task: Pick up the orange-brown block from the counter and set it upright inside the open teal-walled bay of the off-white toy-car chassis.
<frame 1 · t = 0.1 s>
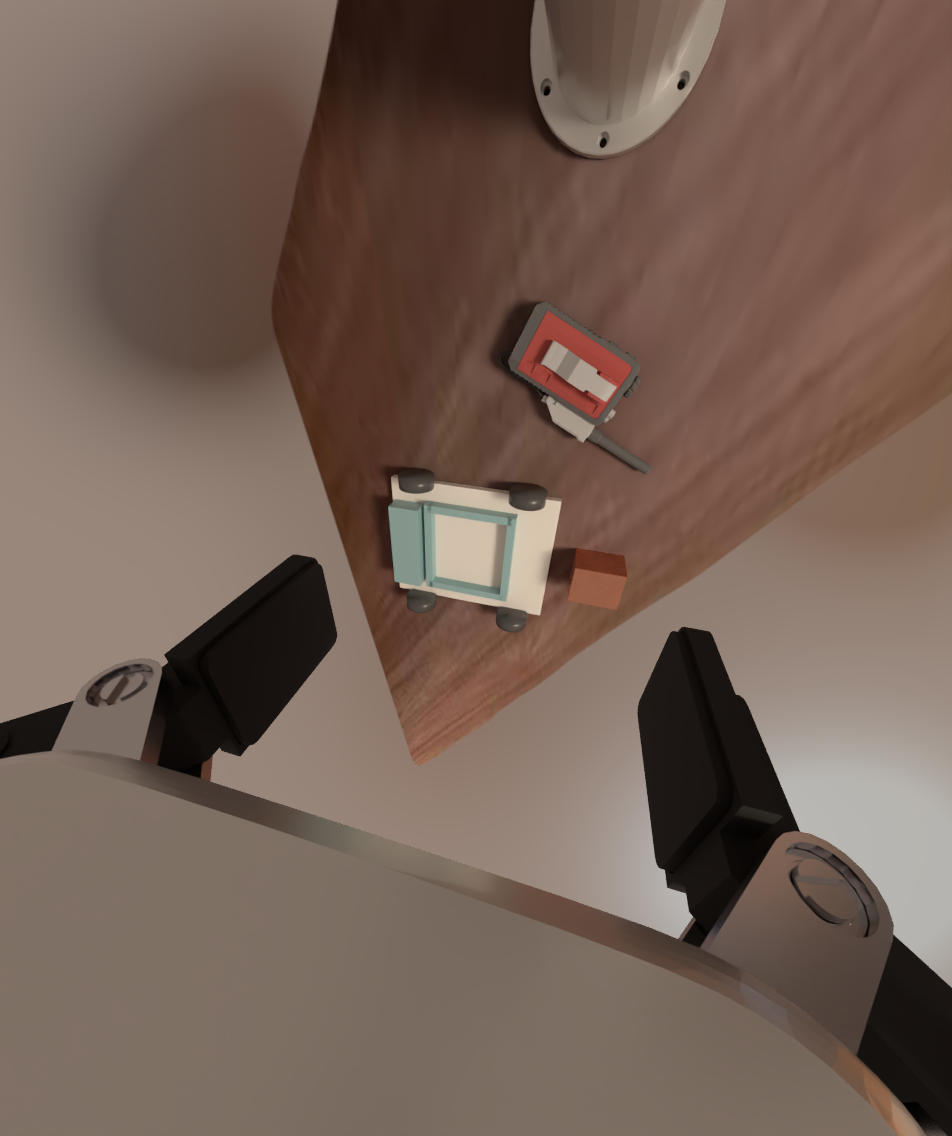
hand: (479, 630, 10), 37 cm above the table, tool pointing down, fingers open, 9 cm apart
chassis: (471, 546, 53), on the table
orange-brown block: (595, 567, 50), on the table
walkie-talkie: (592, 390, 39), on the table
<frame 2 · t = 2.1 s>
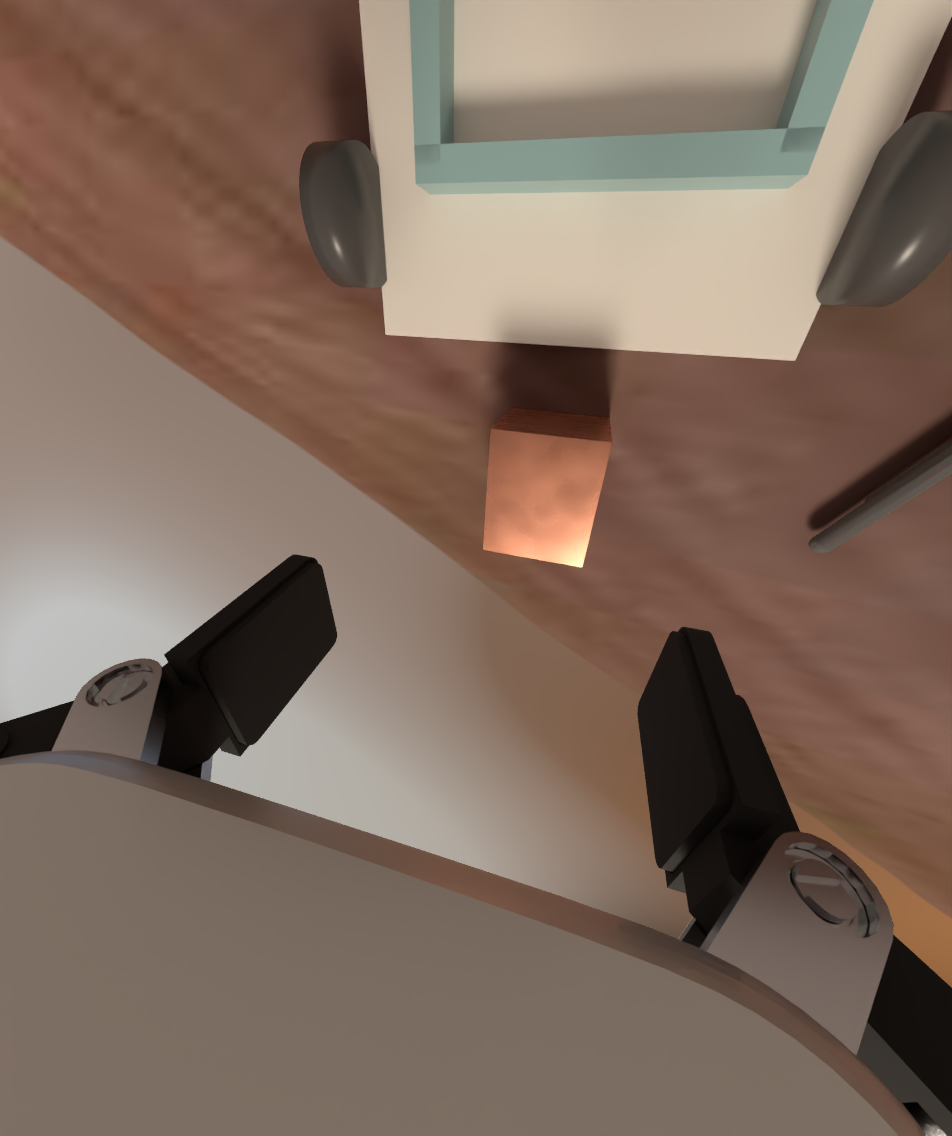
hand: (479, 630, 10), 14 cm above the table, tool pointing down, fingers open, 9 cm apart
orange-brown block: (550, 468, 21), on the table
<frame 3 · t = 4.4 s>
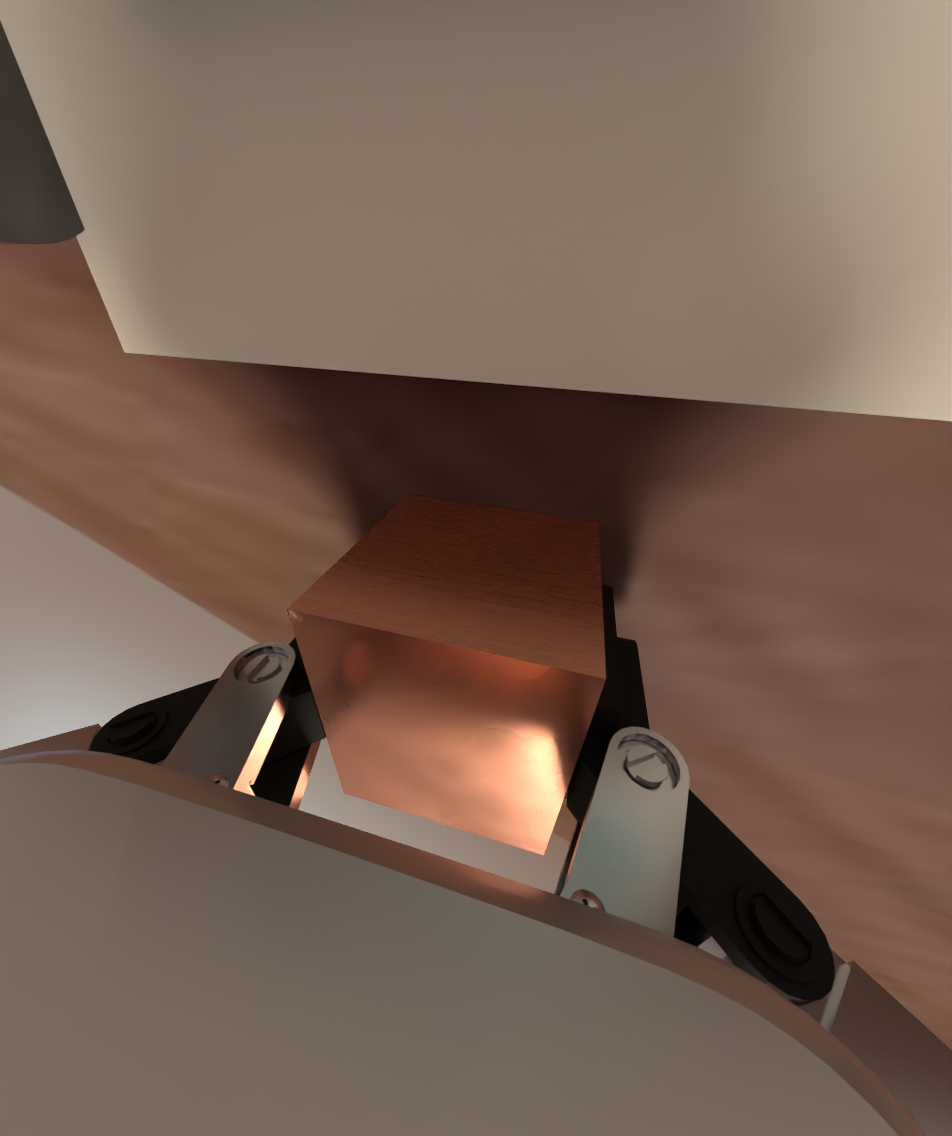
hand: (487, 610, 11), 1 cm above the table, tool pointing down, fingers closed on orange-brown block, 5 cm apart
orange-brown block: (491, 598, 11), on the table, touching gripper
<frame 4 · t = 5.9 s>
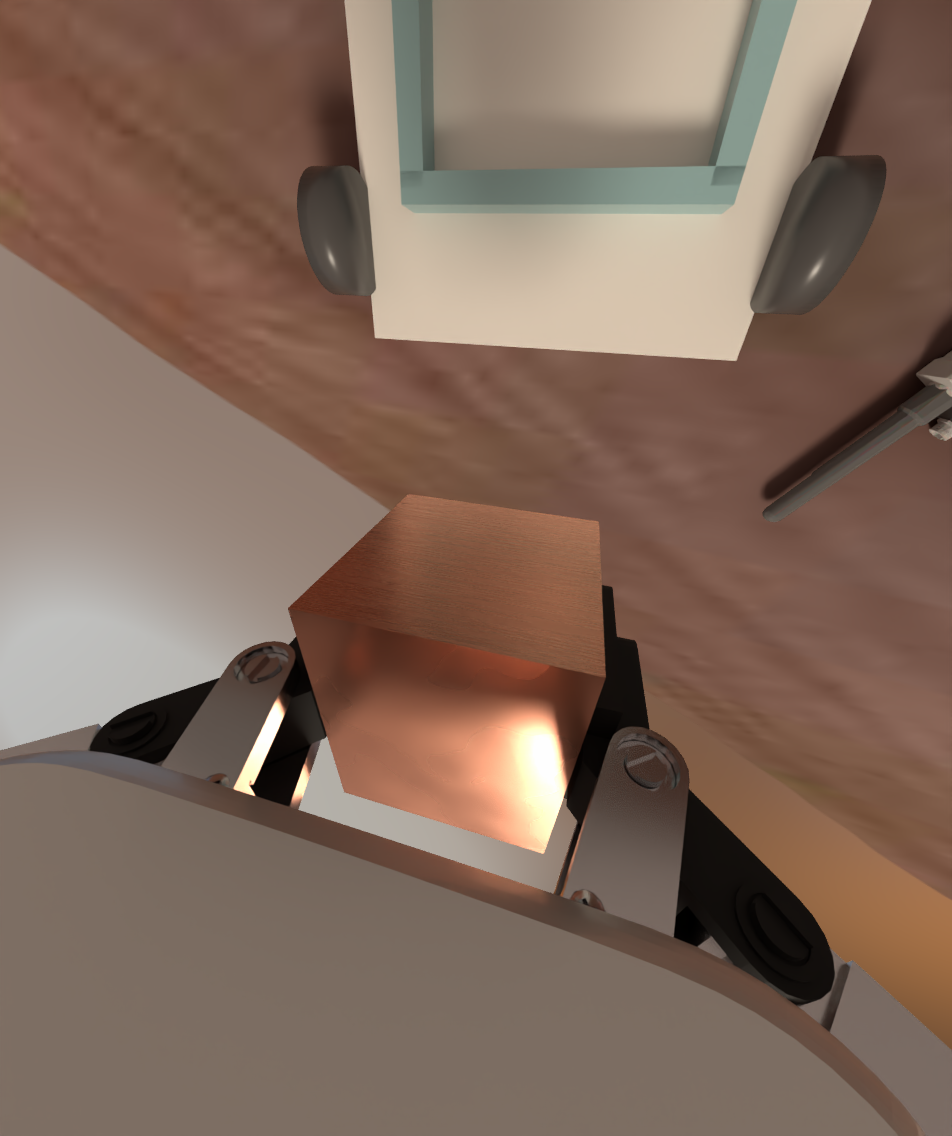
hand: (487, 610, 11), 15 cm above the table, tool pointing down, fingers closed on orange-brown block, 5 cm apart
orange-brown block: (491, 598, 11), point 14 cm above the table, touching gripper
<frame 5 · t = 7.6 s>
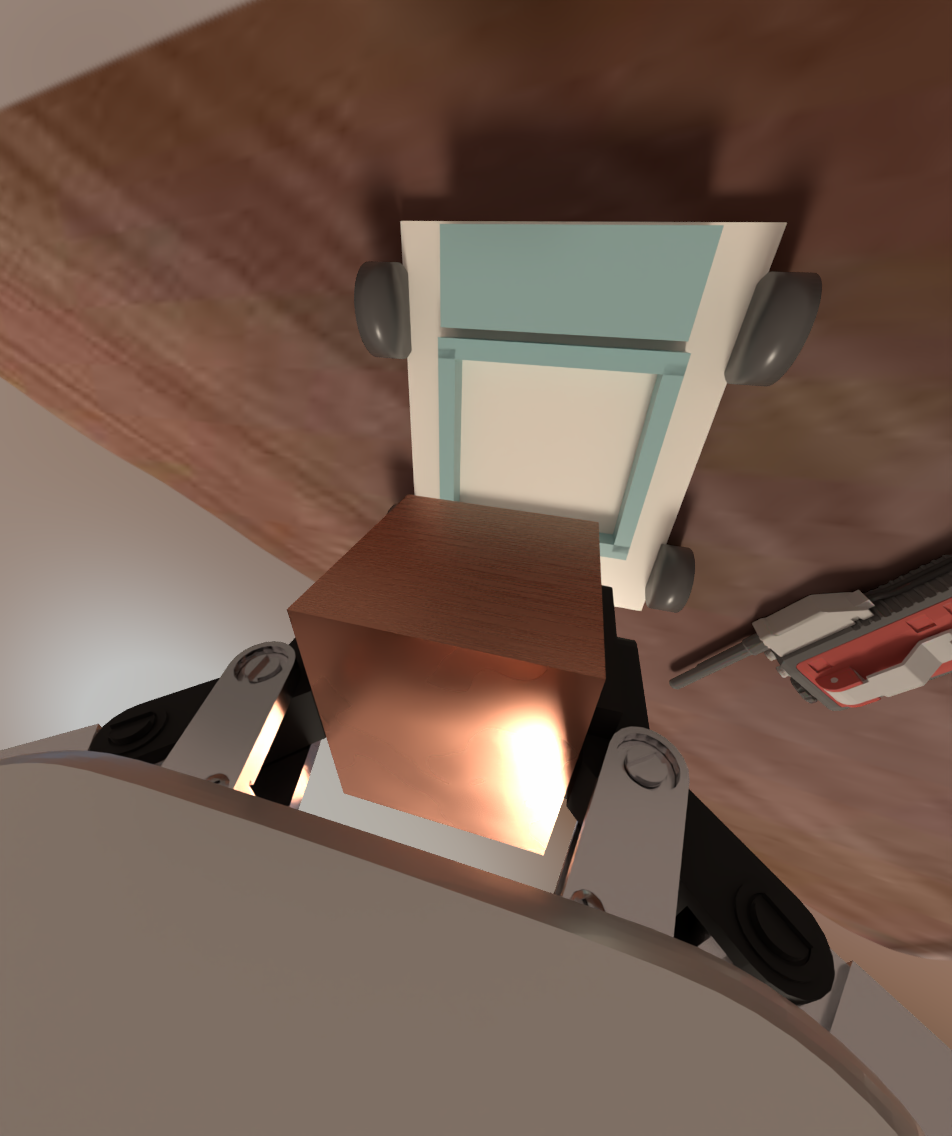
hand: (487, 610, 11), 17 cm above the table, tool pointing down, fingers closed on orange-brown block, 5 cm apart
chassis: (544, 448, 25), on the table
orange-brown block: (491, 598, 11), point 17 cm above the table, touching gripper
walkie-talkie: (814, 637, 28), on the table
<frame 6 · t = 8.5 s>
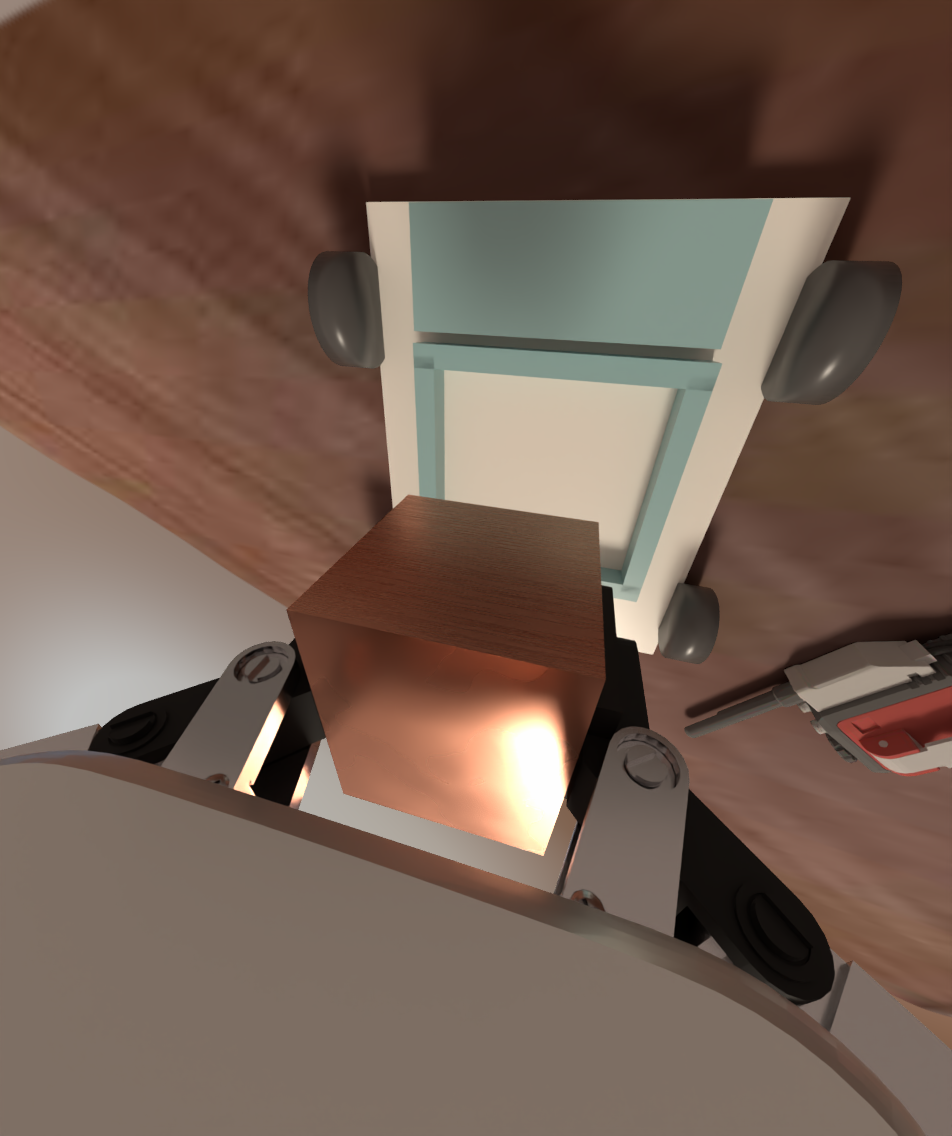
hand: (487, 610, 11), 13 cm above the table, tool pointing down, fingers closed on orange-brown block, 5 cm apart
chassis: (542, 471, 21), on the table
orange-brown block: (491, 598, 11), point 12 cm above the table, touching gripper
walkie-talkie: (855, 686, 24), on the table
when the fingers open (4 cm above the table, at t = 10.8 s): orange-brown block drops 2 cm, resting on chassis.
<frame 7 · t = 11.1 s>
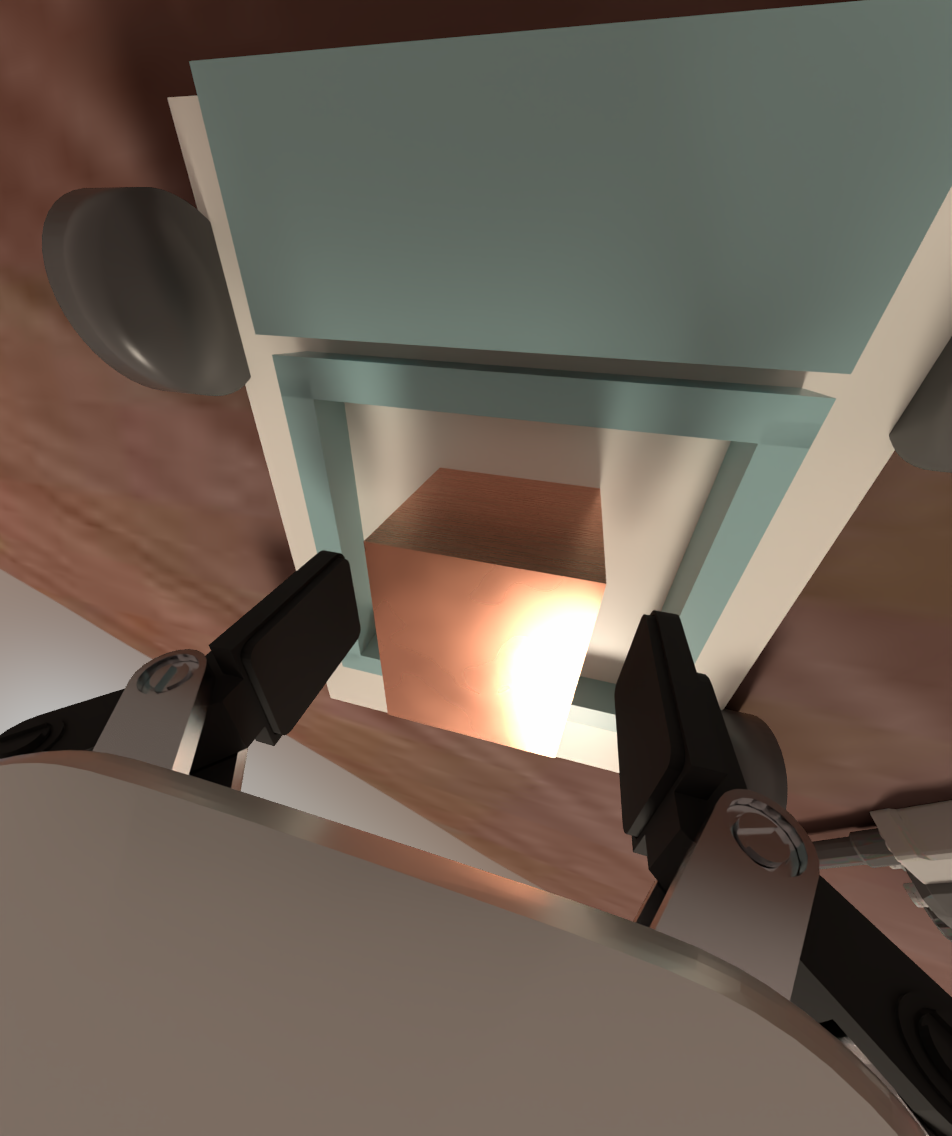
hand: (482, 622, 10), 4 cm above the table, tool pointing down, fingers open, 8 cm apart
chassis: (510, 545, 14), on the table
orange-brown block: (507, 559, 13), point 1 cm above the table, touching chassis
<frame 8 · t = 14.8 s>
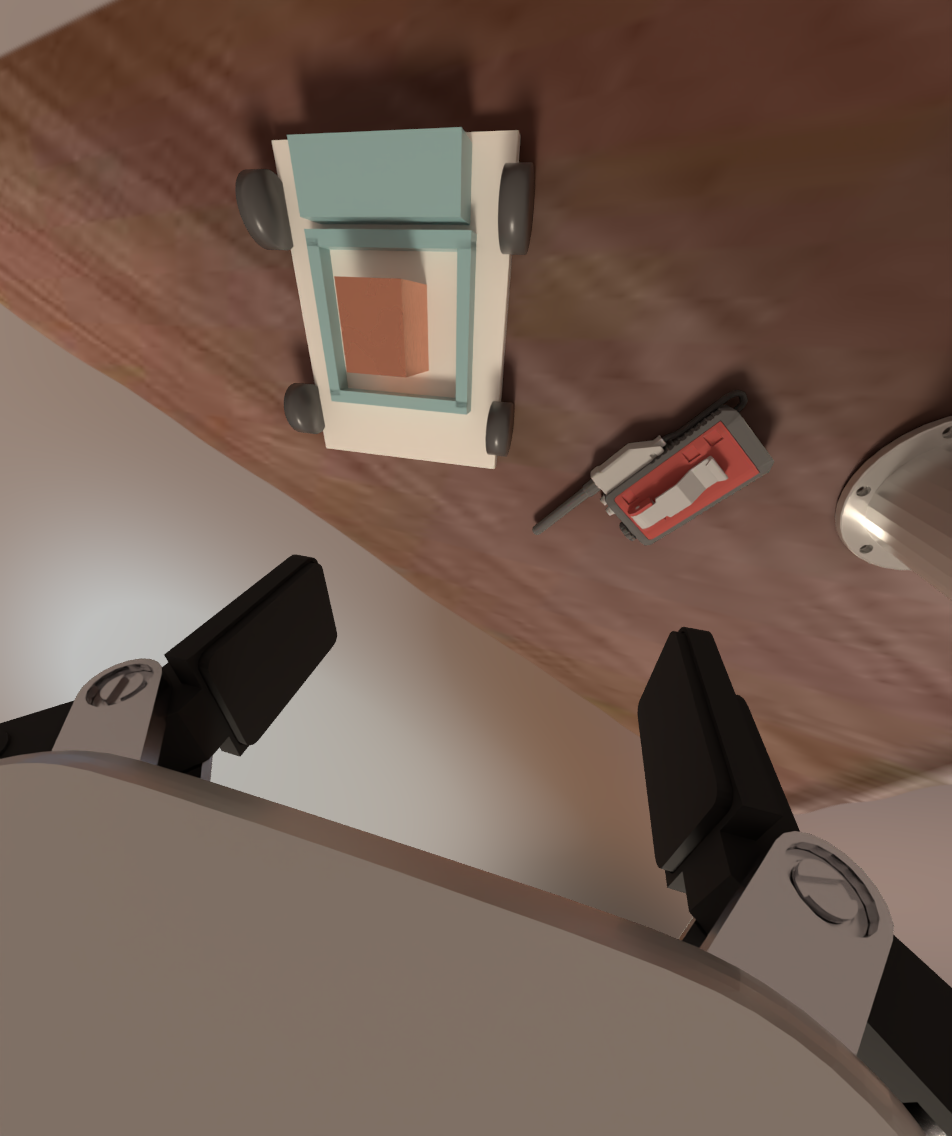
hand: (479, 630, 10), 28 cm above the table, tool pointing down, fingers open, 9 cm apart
chassis: (403, 328, 32), on the table
orange-brown block: (399, 328, 31), point 1 cm above the table, touching chassis
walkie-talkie: (638, 488, 35), on the table
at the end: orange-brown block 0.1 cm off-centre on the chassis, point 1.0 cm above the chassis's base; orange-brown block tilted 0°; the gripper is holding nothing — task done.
